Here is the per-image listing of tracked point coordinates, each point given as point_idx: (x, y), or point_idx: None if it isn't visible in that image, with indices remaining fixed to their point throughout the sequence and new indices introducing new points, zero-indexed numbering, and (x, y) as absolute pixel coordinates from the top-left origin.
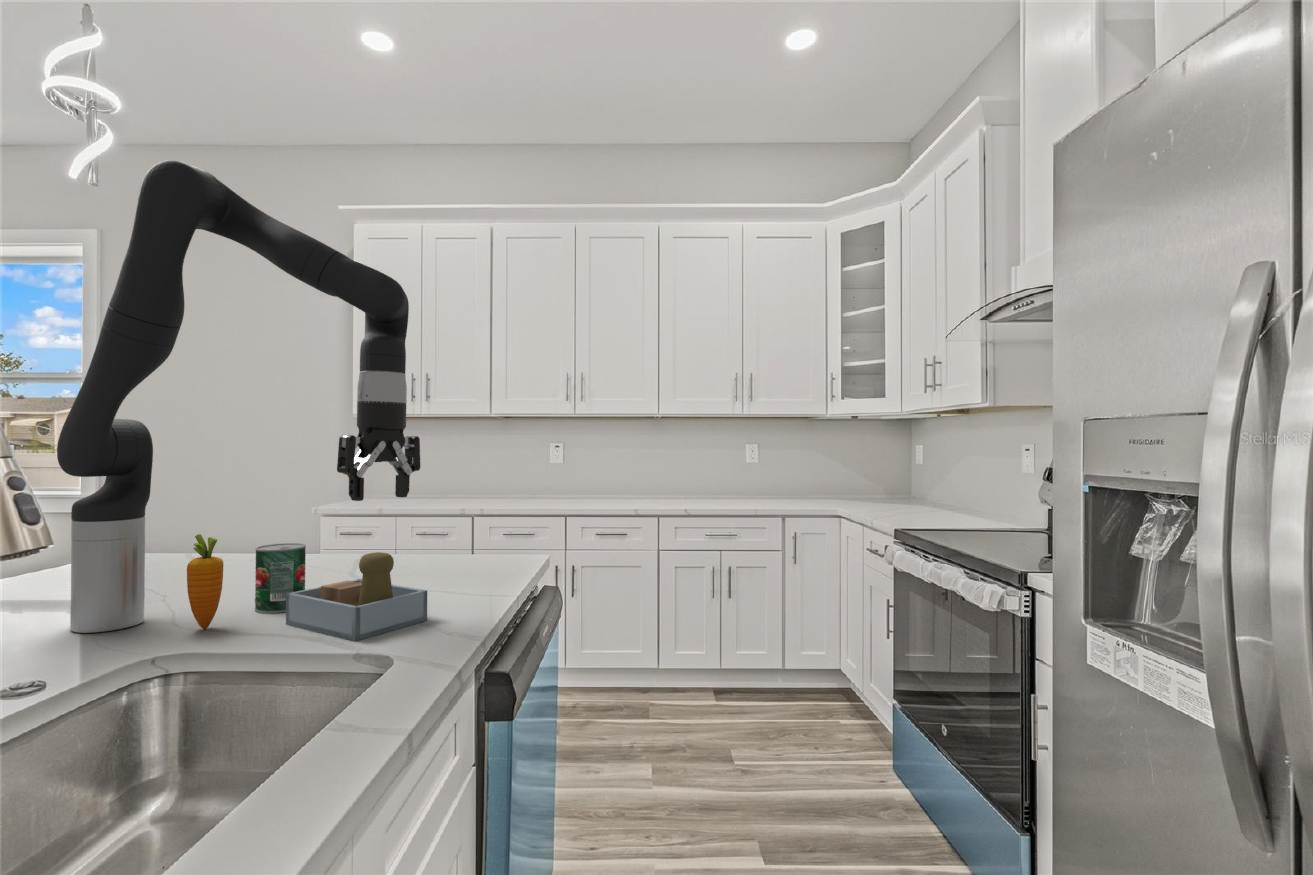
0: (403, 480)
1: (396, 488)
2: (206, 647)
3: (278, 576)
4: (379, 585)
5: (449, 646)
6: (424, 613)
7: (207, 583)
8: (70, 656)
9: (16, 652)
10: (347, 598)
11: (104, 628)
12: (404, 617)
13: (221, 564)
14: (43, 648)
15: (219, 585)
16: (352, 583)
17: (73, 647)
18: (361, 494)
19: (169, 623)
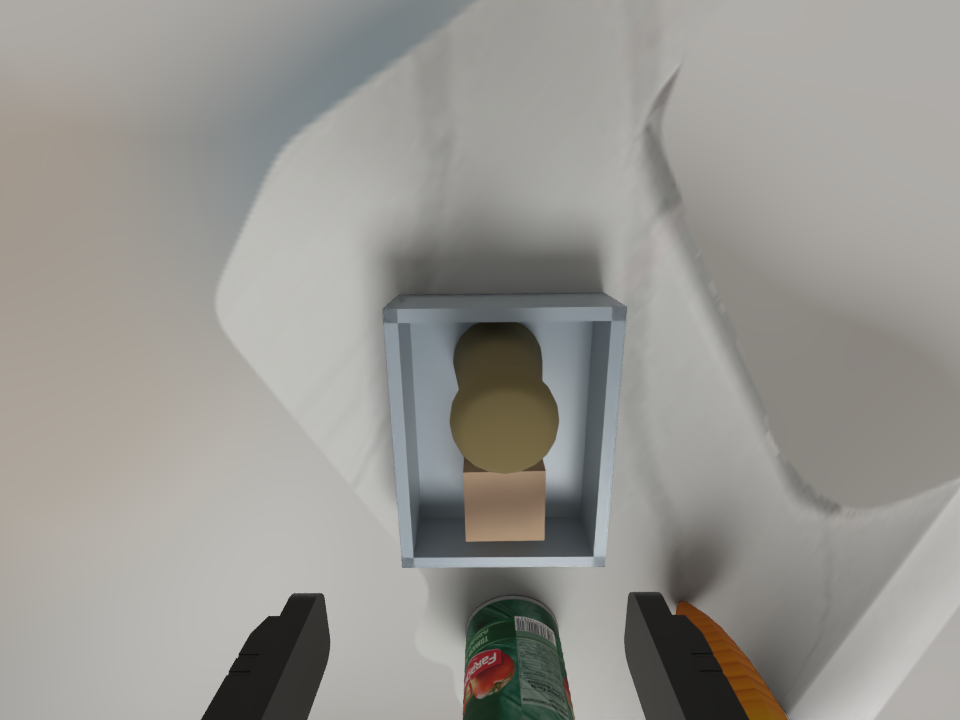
0: (272, 706)
1: (311, 696)
2: (759, 496)
3: (550, 675)
4: (519, 360)
5: (520, 53)
6: (403, 298)
7: (746, 670)
8: (876, 615)
9: (888, 690)
10: None
11: None
12: (466, 298)
13: None
14: (860, 682)
15: None
16: (481, 503)
17: (841, 656)
18: (660, 617)
19: None
